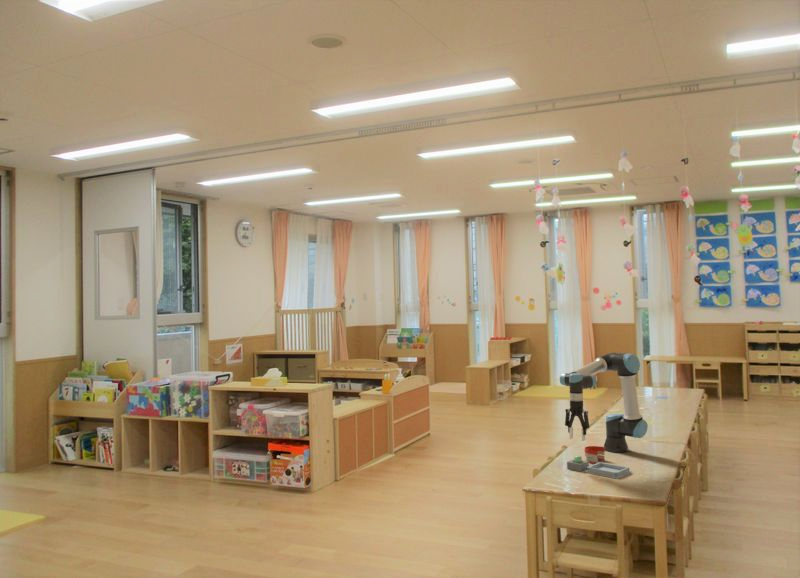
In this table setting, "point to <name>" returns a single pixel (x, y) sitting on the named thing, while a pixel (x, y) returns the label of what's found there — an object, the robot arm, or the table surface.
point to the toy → (594, 454)
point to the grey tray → (608, 470)
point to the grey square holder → (577, 465)
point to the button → (577, 459)
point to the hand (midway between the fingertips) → (577, 439)
